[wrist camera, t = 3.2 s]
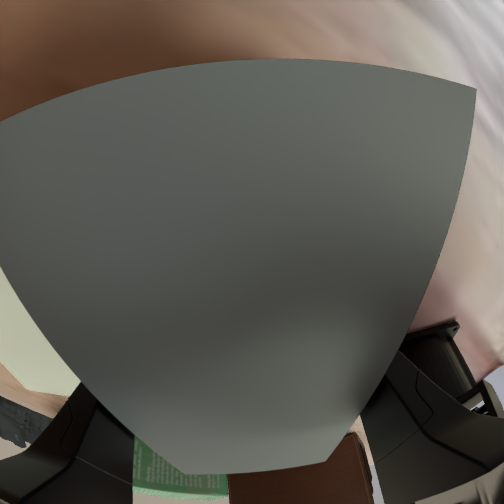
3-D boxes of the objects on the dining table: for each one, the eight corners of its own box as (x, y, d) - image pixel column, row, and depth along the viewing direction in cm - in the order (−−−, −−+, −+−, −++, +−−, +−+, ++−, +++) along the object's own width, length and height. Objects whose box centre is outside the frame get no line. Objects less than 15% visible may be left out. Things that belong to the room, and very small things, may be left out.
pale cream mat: (60, 98, 8) (56, 100, 8) (175, 398, 22) (175, 402, 21) (-98, 186, 8) (-101, 189, 7) (28, 386, 21) (27, 389, 21)
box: (103, 415, 24) (95, 480, 18) (226, 435, 28) (231, 496, 22) (104, 434, 28) (99, 487, 22) (208, 450, 32) (211, 501, 26)
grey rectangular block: (380, 66, 5) (477, 89, 3) (315, 415, 14) (325, 461, 12) (43, 103, 5) (-47, 147, 2) (184, 427, 14) (184, 474, 12)
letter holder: (224, 461, 37) (231, 543, 25) (355, 430, 33) (378, 519, 22) (252, 470, 42) (260, 538, 31) (363, 442, 39) (381, 514, 27)
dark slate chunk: (92, 450, 35) (89, 475, 32) (-19, 406, 28) (-25, 428, 25) (87, 425, 28) (82, 458, 24) (-50, 364, 21) (-61, 391, 17)
